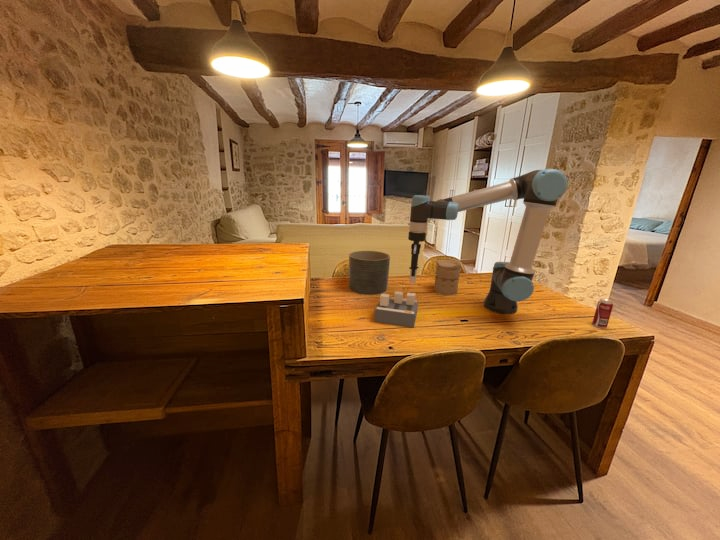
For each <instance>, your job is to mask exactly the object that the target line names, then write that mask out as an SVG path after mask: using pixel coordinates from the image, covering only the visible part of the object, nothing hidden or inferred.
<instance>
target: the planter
mask: <svg viewBox="0 0 720 540" xmlns="http://www.w3.org/2000/svg"><path fill="white" fill-rule="evenodd" d="M348 256H349V257H348V286H349V290H350V291H351V292H354V293H356V294H359V295H366V296H370V295H371V296H374V295H381V294H382V293H383V294H384V293H385V292H387V290H388V287H389V285H388V284H389V273H390V263H391V262H390V260H391V256H390V254H388V253H385V252H383V251H377V250H358V251H357V250H356V251H353V252H350V253H349V255H348Z"/></svg>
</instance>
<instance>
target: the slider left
mask: <svg viewBox="0 0 720 540" xmlns="http://www.w3.org/2000/svg"><path fill="white" fill-rule="evenodd" d="M390 296H391V295H390V294H389V293H384V292H383V293H381V294H380V296H379V301H380V306H386V307H388V305H389V297H390Z"/></svg>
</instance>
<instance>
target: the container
mask: <svg viewBox="0 0 720 540" xmlns="http://www.w3.org/2000/svg"><path fill="white" fill-rule="evenodd" d="M461 267H462V263H461V262H460V261H457V260H453V259H448V258H447V259H438V260H437V261H436V269H435V277H434V286H433V288H434V292H435V293H437V294H439V295H443V296H456V295H457V294H458V290H459V281H460V276H461Z"/></svg>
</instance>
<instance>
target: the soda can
mask: <svg viewBox="0 0 720 540" xmlns="http://www.w3.org/2000/svg"><path fill="white" fill-rule="evenodd" d="M613 303H614V302H613V301H612V300H608V299H606V298H605V299H604V298H600V299H599V300H598V301H597V305H596V306H595V307H596V309H595V312H594V315H593V319H592V322H591V324H592V326H593V327H595V328H598V329H607V327H608V324H609V321H610V317H611V314H612V310H613V307H614V305H613Z"/></svg>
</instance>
